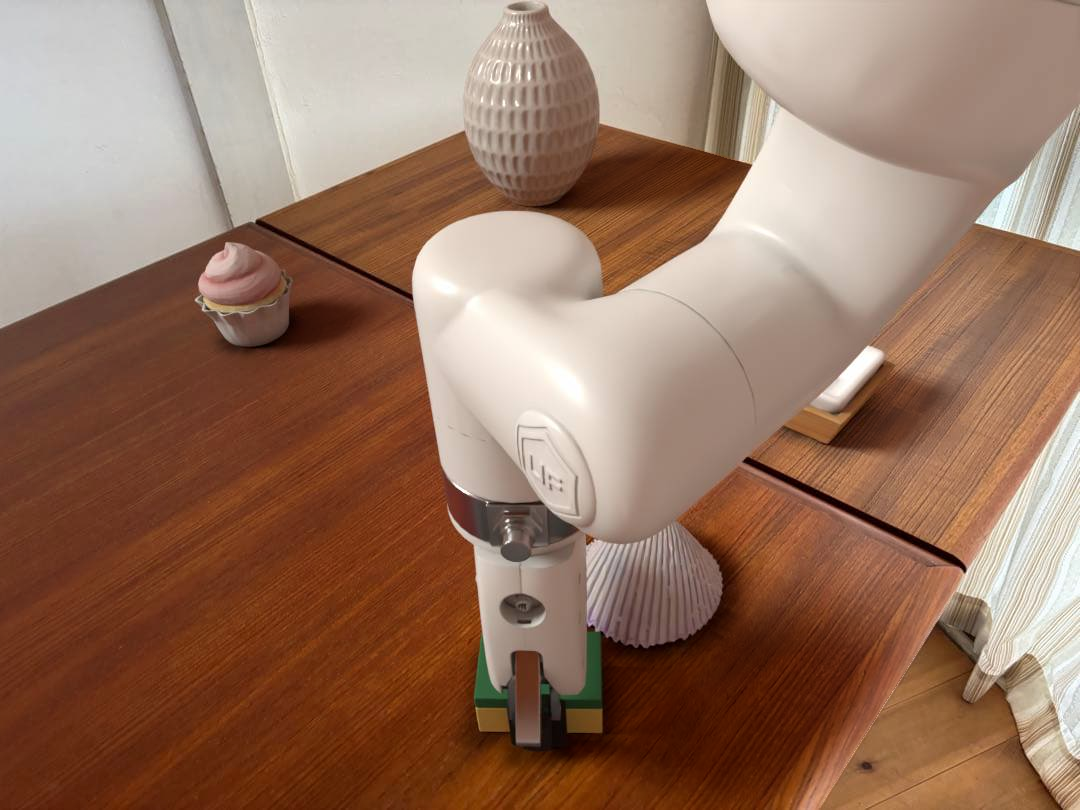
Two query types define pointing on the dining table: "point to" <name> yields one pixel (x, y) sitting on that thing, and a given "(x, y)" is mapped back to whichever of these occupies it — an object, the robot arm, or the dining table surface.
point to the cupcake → (245, 295)
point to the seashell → (651, 587)
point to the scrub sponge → (579, 708)
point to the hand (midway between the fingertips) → (541, 693)
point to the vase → (531, 107)
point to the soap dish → (843, 397)
